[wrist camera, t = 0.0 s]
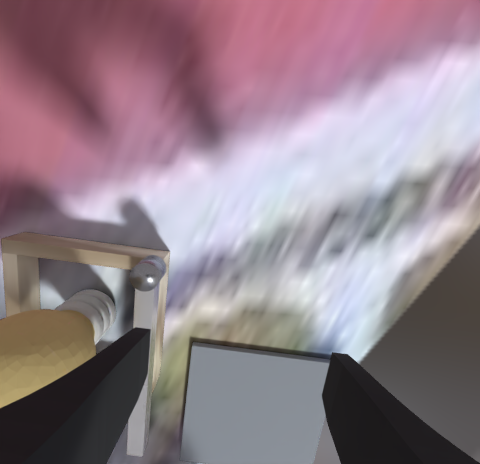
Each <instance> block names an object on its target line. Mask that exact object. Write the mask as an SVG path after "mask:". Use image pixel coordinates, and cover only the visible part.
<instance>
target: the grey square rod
mask: <svg viewBox="0 0 480 464" xmlns="http://www.w3.org/2000/svg"><path fill="white" fill-rule="evenodd" d="M165 273H166V264H165V262H164V260H163V259H162V258H160V257H159V256H156V255H149V256H146V257H145V258H143V259H142V260H141V261H140V262H139V263H138V264H137V265H136V266H135V267H133V268H132V270H131V271H130V274H129V280H130V282H131V284H132V286H133V287H134V288H135V303H134V322H133V328H135V327H138V328H146V329H151V334H150V349H149V363H148V374H147V377H146V380H145V383H144V385H143V388H142V391H141V393H140V396H139V399H138V401H137V403H136V405H135V407H134V409H133V411H132V413H131V415H130V417H129V419H128V438H127V455H131V456H140V457H143V454H144V451H145V449H146V446H147V443H148V436H149V422H150V409H151V395H152V382H153V368H154V355H155V341H156V328H157V314H158V301H159V287H160V280H161V279H162V278H163V276H164V275H165Z"/></svg>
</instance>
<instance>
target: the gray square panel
mask: <svg viewBox="0 0 480 464" xmlns="http://www.w3.org/2000/svg"><path fill="white" fill-rule="evenodd" d="M329 363H330V359H323V358H315V357H307V356H300V355H292V354H284V353H276V352H268V351H260V350H253V349H245V348H237V347H229V346H221V345H213V344H206V343H198V342H193V345H192V352H191V361H190V370H189V379H188V388H187V397H186V407H185V416H184V425H183V434H182V443H181V452H180V461H186V462H194V463H203V464H313V463H314V459H315V454H316V450H317V446H318V443H319V439H320V435H321V431H322V428H323V424H324V420H325V416H326V414H325V410H324V405H323V400H322V392H323V388H324V384H325V380H326V375H327V371H328V367H329Z"/></svg>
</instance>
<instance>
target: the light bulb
mask: <svg viewBox="0 0 480 464" xmlns="http://www.w3.org/2000/svg"><path fill="white" fill-rule="evenodd" d="M115 319H116V308H115V305H114V303H113V301H112V300H111V299H110V298H109V297H108V296H107V295H106V294H104V293H103V292H101V291H98V290H93V289H88V290H82V291H79V292H77V293H76V294H74V295H73V296H72V297H71V298H69V299H68V300H66V301H65V302H64V303H63V304H61V305H60V306H58V307H57V308H56V309H54V310H50V309H39V310H30V311H25V312H21V313H17V314H14V315H11V316H8V317H6V318H3V319H1V320H0V408H2V407H4V406H6V405H8V404H10V403H12V402H15V401H17V400H19V399H21V398H23V397H25V396H27V395H29V394H31V393H33V392H35V391H37V390H39V389H40V388H42V387H44V386H46V385H48V384H50V383H52V382H53V381H55V380H57V379H59V378H60V377H62V376H64V375H66V374H67V373H69V372H70V371H72V370H73V369H75V368H77V367H78V366H80V365H81V364H83V363H85V362H86V361H88V360H89V359H91V358H92V357H94V356H95V355H96V346H95V345H96V344H97V343H98V342H99V340H100V339H101V338H102V337H103V336H104V334H105V333H106V332H107V330H109V329H110V327H111V326H112V325H113V323H114V321H115Z"/></svg>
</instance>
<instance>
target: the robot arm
mask: <svg viewBox="0 0 480 464" xmlns="http://www.w3.org/2000/svg"><path fill="white" fill-rule="evenodd" d="M150 334H151V329H146V328H138V327H135V328H133V329H132V330H131V331H129V332H128V333H126V334H125V335H124V336H122V337H121V338H119V339H118V340H117V341H115V342H114V343H112V344H111V345H110V346H108V347H107V348H105V349H104V350H102V351H101V352H100V353H98V354H97V355H95V356H94V357H92V358H91V359H89V360H88V361H86V362H85V363H83V364H81V365H80V366H78V367H77V368H75V369H73V370H72V371H70V372H69V373H67V374H66V375H64V376H62V377H60V378H59V379H57V380H55V381H53V382H52V383H50V384H48V385H46V386H44V387H42V388H40V389H39V390H37V391H35V392H33V393H31V394H29V395H27V396H25V397H23V398H21V399H19V400H17V401H15V402H12V403H10V404H8V405H6V406H4V407H2V408H0V464H106V463H107V461H108V459H109V457H110V455H111V453H112V451H113V449H114V447H115V445H116V443H117V441H118V439H119V437H120V435H121V433H122V431H123V429H124V427H125V425H126V423H127V421H128V419H129V417H130V415H131V413H132V411H133V409H134V407H135V405H136V403H137V401H138V399H139V396H140V393H141V391H142V388H143V385H144V383H145V380H146V377H147V374H148V363H149V349H150ZM322 400H323V405H324V410H325V414H326V418H327V422H328V426H329V429H330V432H331V435H332V438H333V441H334V444H335V447H336V450H337V453H338V456H339V459H340V462H341V464H480V463H479V462H477V461H475V460H474V459H473V458H471V457H470V456H468V455H467V454H466V453H464V452H463V451H461V450H460V449H459V448H457V447H456V446H455V445H453V444H452V443H451V442H449V441H448V440H447V439H445V438H444V437H442V436H441V435H440V434H438V433H437V432H436V431H435V430H433V429H432V428H431V427H430V426H428V425H427V424H426V423H425V422H423V421H422V420H421V419H420V418H419V417H417V416H416V415H415V414H414V413H412V412H411V411H410V410H409V409H408V408H407V407H405V406H404V405H403V404H402V403H401V402H400V401H399V400H397V399H396V398H395V397H394V396H393V395H392V394H391V393H389V392H388V391H387V390H386V389H385V388H384V387H383V386H382V385H381V384H379V382H377V381H376V380H375V379H374V378H373V377H372V376H371V375H370V374H369V373H368V372H367V371H366V370H364V369H363V368H362V367H361V366H360V365H359V364H358V363H357V362H356V361H355V360H354V359H352V358H351V357H350V356H349V355H348V354H341V353H333V352H332V355H331V359H330V363H329V367H328V371H327V375H326V380H325V384H324V388H323V392H322Z"/></svg>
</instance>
